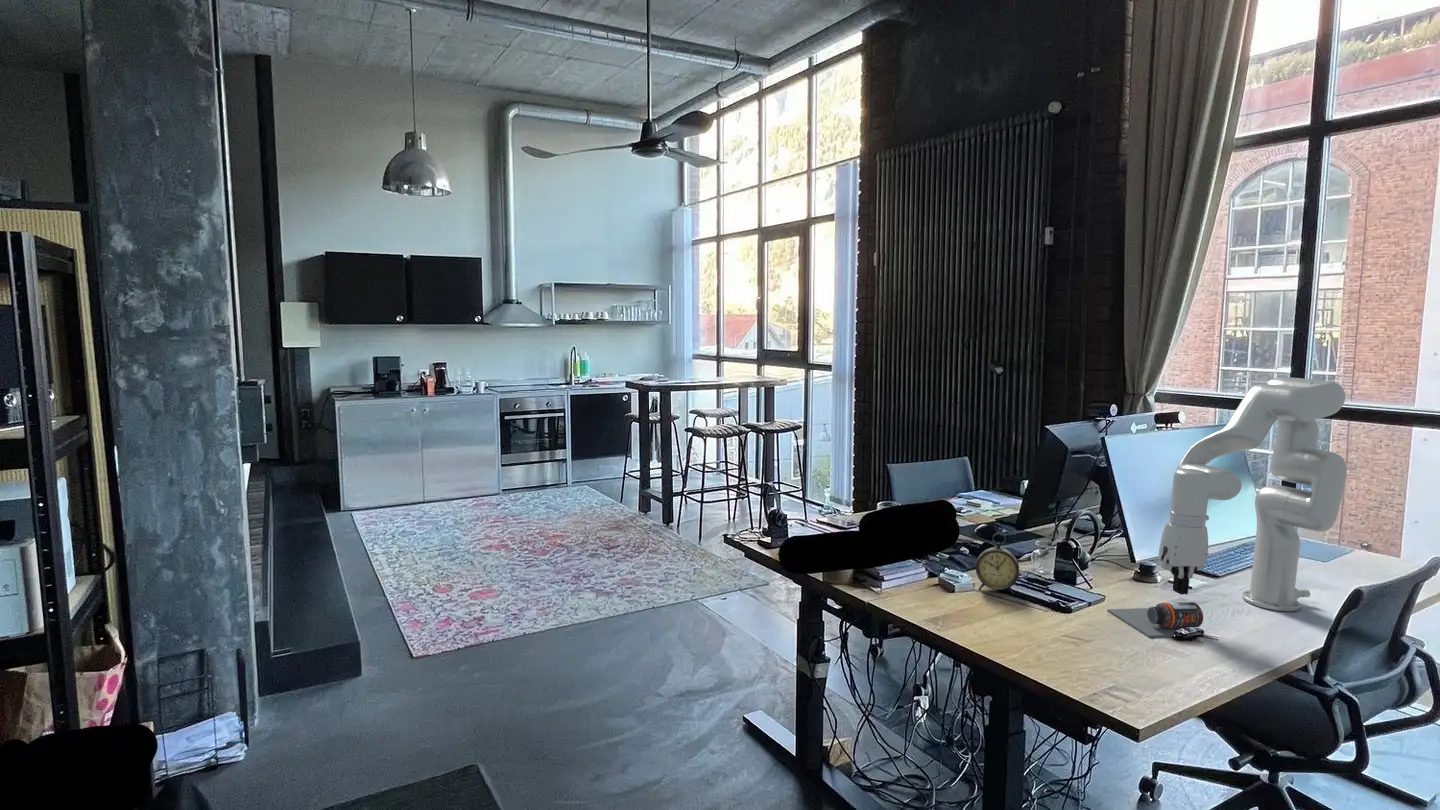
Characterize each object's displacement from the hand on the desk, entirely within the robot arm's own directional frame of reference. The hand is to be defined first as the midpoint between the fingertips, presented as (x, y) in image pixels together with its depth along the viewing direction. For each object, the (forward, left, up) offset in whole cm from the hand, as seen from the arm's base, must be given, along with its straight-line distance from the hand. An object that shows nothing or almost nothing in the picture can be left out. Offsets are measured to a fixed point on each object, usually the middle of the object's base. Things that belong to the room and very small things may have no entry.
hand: (1180, 592), depth 190 cm
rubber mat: (+6, 0, -8) cm, 10 cm away
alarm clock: (+35, -24, -8) cm, 43 cm away
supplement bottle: (-2, +4, -4) cm, 6 cm away
